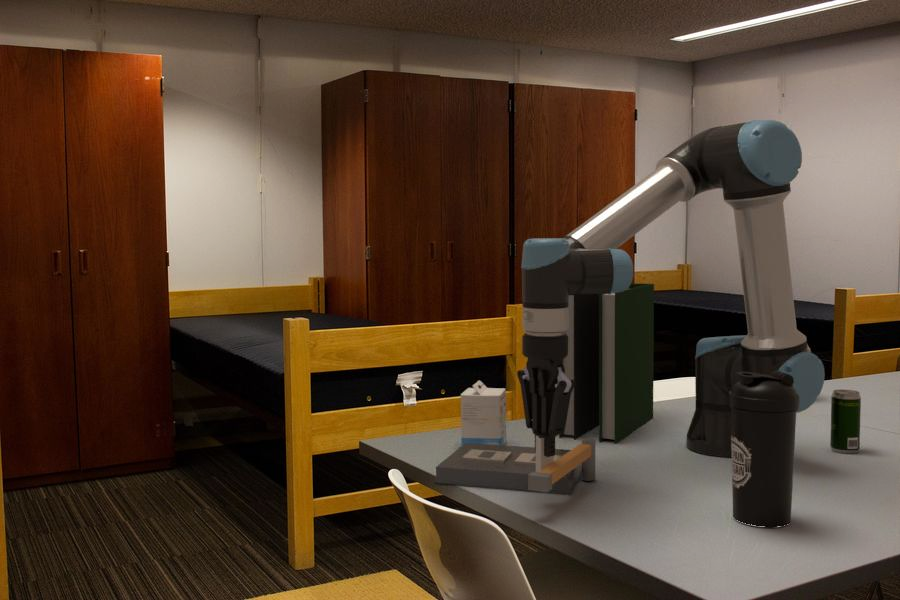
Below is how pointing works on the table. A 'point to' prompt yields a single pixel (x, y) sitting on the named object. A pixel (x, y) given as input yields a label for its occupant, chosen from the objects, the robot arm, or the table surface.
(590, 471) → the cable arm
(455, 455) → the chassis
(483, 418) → the ink box
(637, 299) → the books
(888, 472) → the table surface
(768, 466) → the water bottle
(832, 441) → the beer can
